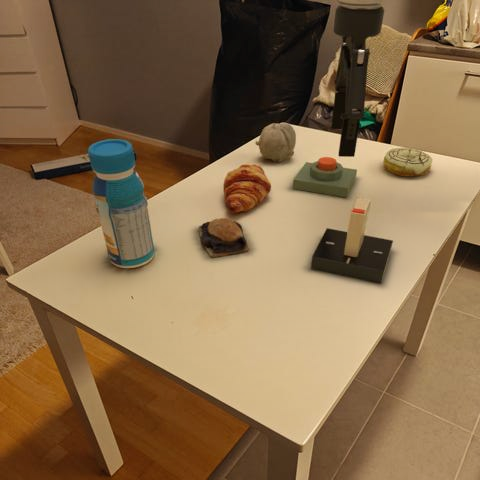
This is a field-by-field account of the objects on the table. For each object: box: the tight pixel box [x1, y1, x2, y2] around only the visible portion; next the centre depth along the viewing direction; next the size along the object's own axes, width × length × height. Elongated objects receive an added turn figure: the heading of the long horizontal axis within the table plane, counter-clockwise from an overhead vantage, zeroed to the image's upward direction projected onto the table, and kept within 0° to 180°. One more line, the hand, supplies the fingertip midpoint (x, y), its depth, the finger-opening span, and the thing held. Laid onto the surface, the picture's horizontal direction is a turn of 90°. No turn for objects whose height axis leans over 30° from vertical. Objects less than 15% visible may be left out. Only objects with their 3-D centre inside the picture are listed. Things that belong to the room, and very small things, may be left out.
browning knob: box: [344, 197, 372, 257], centre depth 77 cm, size 6×2×8 cm, turn 158°
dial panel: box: [310, 227, 394, 284], centre depth 80 cm, size 12×10×3 cm
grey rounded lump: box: [254, 122, 297, 163], centre depth 111 cm, size 9×8×10 cm
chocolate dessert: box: [198, 217, 250, 258], centre depth 86 cm, size 11×8×4 cm
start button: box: [317, 156, 338, 171], centre depth 101 cm, size 4×4×2 cm
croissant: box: [222, 163, 272, 214], centre depth 98 cm, size 21×10×8 cm, turn 166°
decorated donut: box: [383, 147, 433, 177], centre depth 108 cm, size 10×11×4 cm
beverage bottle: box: [87, 138, 156, 269], centre depth 76 cm, size 8×8×20 cm
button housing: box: [292, 160, 358, 198], centre depth 103 cm, size 12×10×4 cm
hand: (341, 141), depth 86 cm, fingers open, 13 cm apart
